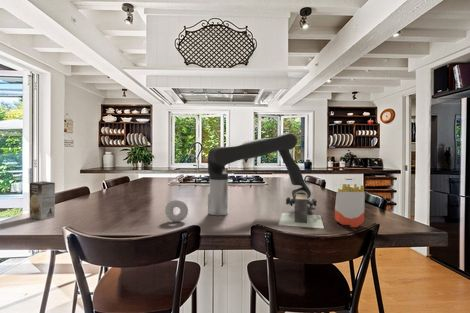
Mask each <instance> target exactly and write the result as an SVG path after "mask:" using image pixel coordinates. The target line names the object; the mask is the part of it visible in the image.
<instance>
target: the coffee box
mask: <svg viewBox="0 0 470 313" xmlns="http://www.w3.org/2000/svg"><path fill="white" fill-rule="evenodd" d="M55 188H56V184H55V182H51V181H35V182H29V218H31V219H35V220H40V221H44V220H48V219H51V218H55V217H56V216H55V214H56V210H55V209H56V206H55V204H56V203H55V202H56V198H55V197H56V195H55V194H56V189H55Z"/></svg>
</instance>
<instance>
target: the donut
mask: <svg viewBox="0 0 470 313" xmlns="http://www.w3.org/2000/svg"><path fill="white" fill-rule="evenodd" d="M188 207H189V206H188V205H187V203H186V202H184V201H183V200H182V199H178V198H177V199H172V200H170V201H169V202H168V203H167V204H166V206H165V209H164V210H165V211H164V212H165V215H166V217H167V219H169V221H171V222H174V223H178V222H179V223H180V222H182V221H183V220H185V219H186V218H187V216H188V214H189V213H188V212H189V209H188ZM175 208H179V213H175V212H174V209H175Z"/></svg>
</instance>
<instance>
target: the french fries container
mask: <svg viewBox="0 0 470 313" xmlns="http://www.w3.org/2000/svg"><path fill="white" fill-rule="evenodd" d="M365 196H366V193H365V185H361V184H360V186H357V184H356V183H354V184H353V187H351V184H350V183H349V184H348V183H347V184H346V183H342V188H338V189H337V191H336V197H335V203H334V204H335V206H334V219H335V220H336V222H338V223H339V224H341V225H343V226H344V225H345V226H346V225H348V226H349V225H350V228H358V227H359V226H360V225H362V224H363V223H364V222H365V200H366V197H365Z"/></svg>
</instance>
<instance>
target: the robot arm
mask: <svg viewBox="0 0 470 313" xmlns="http://www.w3.org/2000/svg"><path fill="white" fill-rule="evenodd" d="M297 144H298V138H297V137H296V135H294V133H291V132H290V133H289V132H287V133H282V134H279V135H277V136H276V137H266V138H256V139H252V140H248V141H245V142H243V143H241V144H238V145H233V146H214V147H212V148H210V150H209V151H208V154H207V173H208V176H209V190H208V191H209V194H207V215H212V216H225V215H228V213H229V212H228V210H229V208H228V207H229V173H228V172H227V171H226V165H229V164H231V163H234V162H237V161H241V160H249V159H254V158H259V157H263V156H266V155H269V154H272V153H274V152H278V153H279V154H280V157H281V159H282V161H283V163H284V165H285V168H286V170H287V174H288V176H289V180H290V182H291V185H293V186H300V187H298V188H294V189H292V190H291V196H292V198H290V197H286V199H285V205H289V206H291V207H293V206H295V198H296V194H304V195H307V199H308V203H307V207H309V208H311V207H313V206H314V207H317V206H318V205H317V204H318V203H317V202H318V201H317V199H316V198H312V199H310V198H311V196H312V193H311V190H310V188H309V187H308V185H307V183H306V181H305V180H304V178H303V174H302V171H301V169H300V166H299V165H298V164H297V163H296V161H295V159H294V158H293V156H292V154H291V151H290V150H292V149H293V150H294V148H296V146H297Z"/></svg>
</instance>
